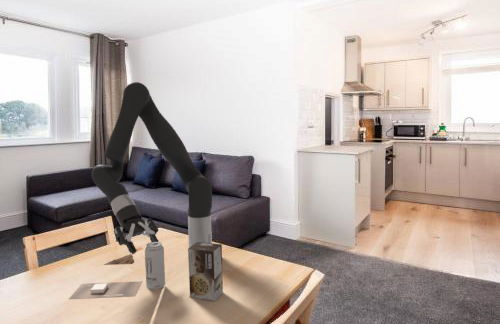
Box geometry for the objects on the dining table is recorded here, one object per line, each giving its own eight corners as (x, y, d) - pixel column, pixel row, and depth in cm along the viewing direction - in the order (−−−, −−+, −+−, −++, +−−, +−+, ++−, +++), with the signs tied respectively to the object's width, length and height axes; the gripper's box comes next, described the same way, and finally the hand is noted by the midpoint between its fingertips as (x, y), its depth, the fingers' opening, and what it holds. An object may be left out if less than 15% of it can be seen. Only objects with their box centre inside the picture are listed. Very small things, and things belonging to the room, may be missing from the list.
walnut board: (142, 284, 117) (142, 281, 117) (135, 299, 107) (135, 296, 107) (82, 286, 116) (81, 283, 115) (68, 302, 106) (68, 299, 106)
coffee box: (223, 292, 111) (222, 244, 109) (215, 302, 105) (214, 251, 103) (198, 287, 114) (197, 240, 112) (188, 297, 108) (187, 247, 106)
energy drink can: (142, 288, 114) (140, 245, 112) (156, 281, 119) (155, 239, 117) (154, 294, 110) (153, 249, 108) (169, 286, 115) (167, 243, 113)
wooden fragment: (104, 285, 117) (104, 282, 117) (77, 281, 120) (76, 278, 120) (145, 256, 142) (145, 254, 142) (122, 254, 145) (122, 251, 144)
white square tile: (107, 286, 113) (107, 283, 113) (103, 292, 109) (103, 289, 109) (95, 287, 113) (95, 283, 113) (90, 293, 109) (90, 289, 109)
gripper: (110, 208, 114) (131, 249, 108) (147, 200, 125) (167, 237, 119) (102, 220, 118) (122, 261, 112) (139, 212, 129) (159, 248, 123)
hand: (146, 249), depth 116 cm, fingers open, 8 cm apart
